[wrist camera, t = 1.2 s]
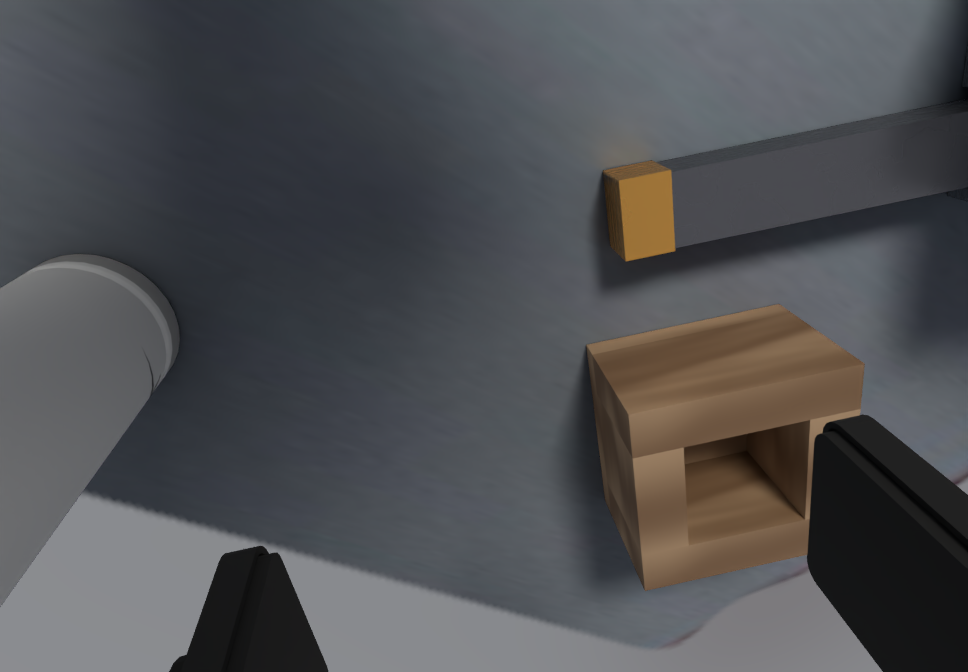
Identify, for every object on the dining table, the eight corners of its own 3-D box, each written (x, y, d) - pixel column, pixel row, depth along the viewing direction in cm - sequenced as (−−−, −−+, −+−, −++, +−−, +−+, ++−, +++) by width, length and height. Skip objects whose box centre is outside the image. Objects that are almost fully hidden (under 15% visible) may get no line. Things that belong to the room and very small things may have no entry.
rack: (586, 344, 29) (628, 414, 24) (779, 304, 29) (864, 363, 24) (605, 500, 33) (645, 590, 27) (775, 462, 33) (848, 545, 28)
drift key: (602, 170, 26) (618, 180, 24) (985, 92, 26) (1030, 96, 24) (610, 246, 27) (625, 261, 25) (973, 170, 28) (1015, 180, 26)
